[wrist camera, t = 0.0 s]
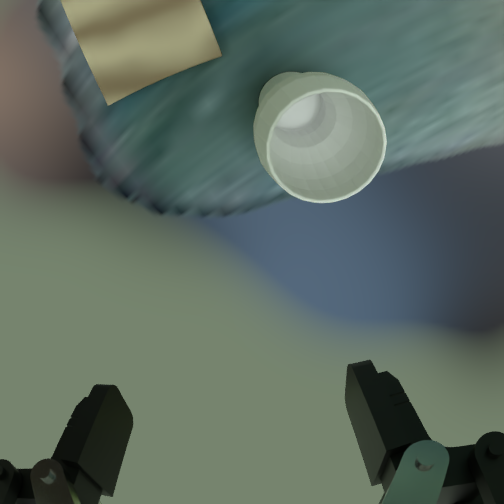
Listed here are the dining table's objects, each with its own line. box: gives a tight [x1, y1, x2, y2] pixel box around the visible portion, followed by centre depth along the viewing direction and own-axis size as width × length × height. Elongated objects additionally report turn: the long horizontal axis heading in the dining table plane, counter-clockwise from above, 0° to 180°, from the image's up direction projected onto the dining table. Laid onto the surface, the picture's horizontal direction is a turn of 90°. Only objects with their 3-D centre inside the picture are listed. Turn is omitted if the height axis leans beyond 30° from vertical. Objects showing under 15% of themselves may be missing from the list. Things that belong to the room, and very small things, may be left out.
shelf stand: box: [61, 0, 222, 106], centre depth 21 cm, size 16×12×6 cm
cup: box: [253, 72, 387, 203], centre depth 27 cm, size 11×11×15 cm
